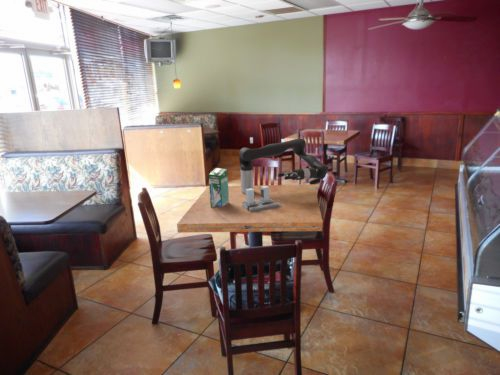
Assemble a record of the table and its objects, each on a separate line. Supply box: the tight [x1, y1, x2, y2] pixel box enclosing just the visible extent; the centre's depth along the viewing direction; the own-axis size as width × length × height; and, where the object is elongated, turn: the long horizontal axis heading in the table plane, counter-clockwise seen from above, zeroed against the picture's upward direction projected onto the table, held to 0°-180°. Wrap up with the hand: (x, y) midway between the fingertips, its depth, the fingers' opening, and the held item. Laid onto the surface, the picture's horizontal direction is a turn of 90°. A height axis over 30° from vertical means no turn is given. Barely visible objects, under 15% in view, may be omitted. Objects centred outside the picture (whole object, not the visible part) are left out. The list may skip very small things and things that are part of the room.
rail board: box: [240, 198, 282, 214], centre depth 233 cm, size 16×22×4 cm
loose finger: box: [260, 185, 270, 202], centre depth 235 cm, size 4×5×12 cm
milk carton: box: [208, 167, 230, 209], centre depth 237 cm, size 9×9×25 cm
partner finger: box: [245, 188, 256, 205], centre depth 231 cm, size 4×5×12 cm
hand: (281, 176), depth 240 cm, fingers open, 8 cm apart
